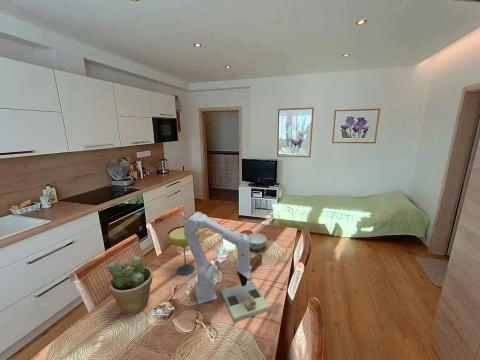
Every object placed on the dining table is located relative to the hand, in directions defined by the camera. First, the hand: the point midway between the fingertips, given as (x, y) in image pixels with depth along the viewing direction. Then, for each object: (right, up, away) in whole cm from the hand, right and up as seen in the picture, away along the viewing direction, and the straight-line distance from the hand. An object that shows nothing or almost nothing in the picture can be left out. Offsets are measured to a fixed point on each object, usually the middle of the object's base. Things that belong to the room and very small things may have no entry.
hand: (243, 285), depth 107 cm
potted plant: (-52, -10, 0) cm, 53 cm away
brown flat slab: (+7, -4, +28) cm, 29 cm away
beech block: (+3, -8, -4) cm, 10 cm away
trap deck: (0, -9, +2) cm, 9 cm away
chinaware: (+10, +2, +52) cm, 53 cm away
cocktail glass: (-35, -4, +27) cm, 44 cm away
